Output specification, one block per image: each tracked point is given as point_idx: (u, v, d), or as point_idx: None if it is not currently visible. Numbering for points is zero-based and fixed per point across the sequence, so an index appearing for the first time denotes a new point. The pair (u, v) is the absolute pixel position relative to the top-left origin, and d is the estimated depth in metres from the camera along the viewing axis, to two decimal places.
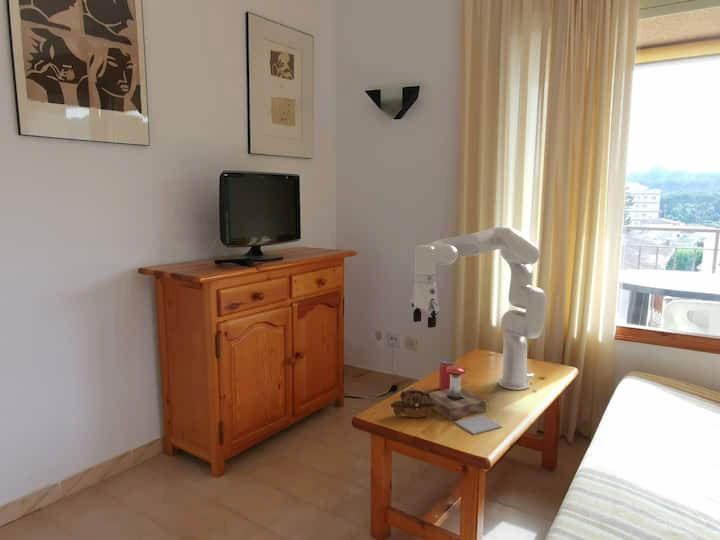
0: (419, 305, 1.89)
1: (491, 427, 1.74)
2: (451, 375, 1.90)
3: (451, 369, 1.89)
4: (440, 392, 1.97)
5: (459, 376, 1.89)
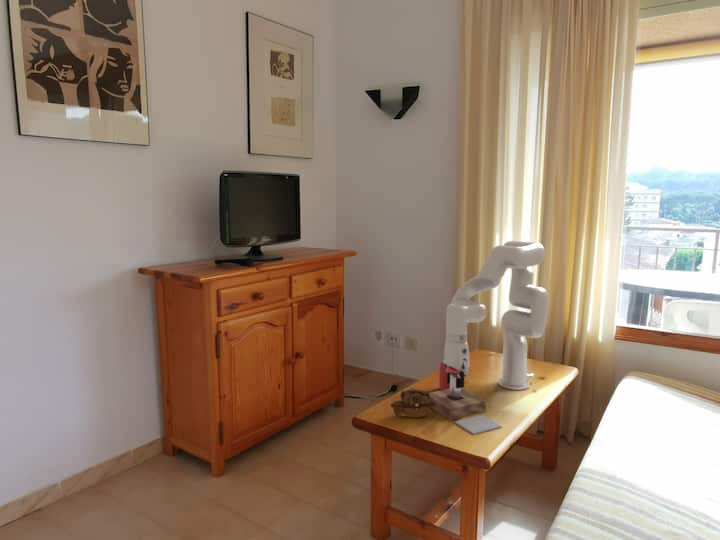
0: (450, 364, 1.89)
1: (491, 427, 1.74)
2: (451, 375, 1.90)
3: (452, 369, 1.89)
4: (440, 392, 1.97)
5: None
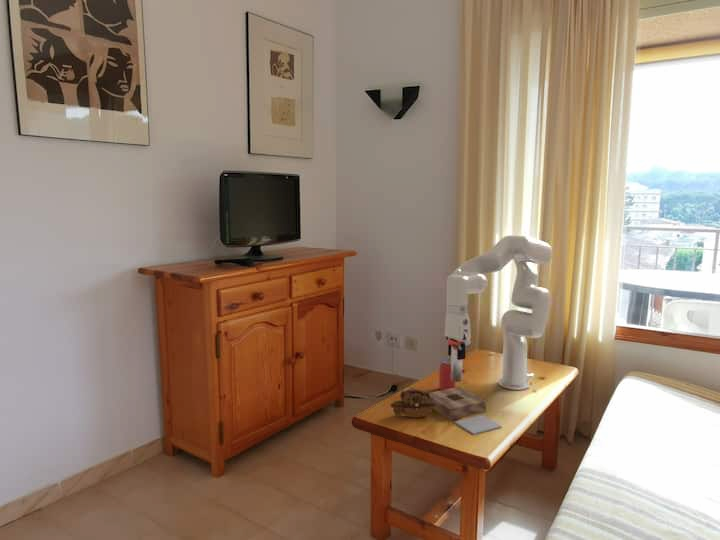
0: (451, 335, 1.88)
1: (491, 427, 1.74)
2: (452, 347, 1.88)
3: (453, 341, 1.88)
4: (440, 392, 1.97)
5: None
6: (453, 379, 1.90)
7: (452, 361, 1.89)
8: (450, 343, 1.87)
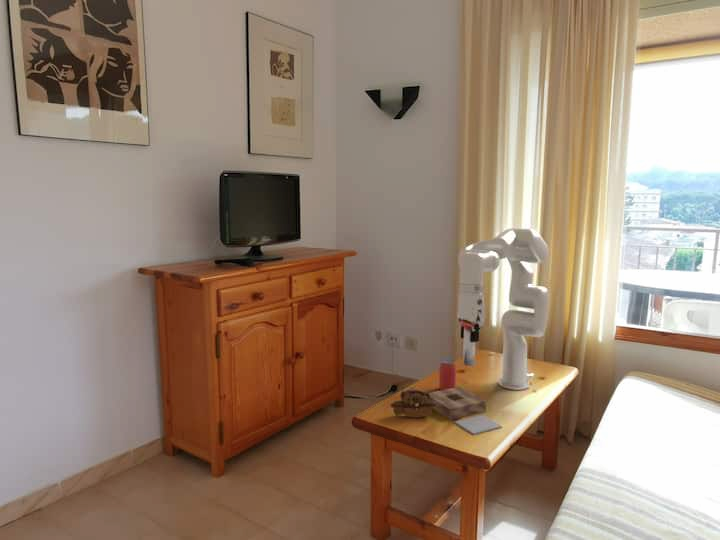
0: (464, 316, 1.78)
1: (491, 427, 1.74)
2: (465, 329, 1.78)
3: (465, 322, 1.78)
4: (440, 392, 1.97)
5: None
6: (465, 363, 1.79)
7: (464, 344, 1.79)
8: (463, 324, 1.77)
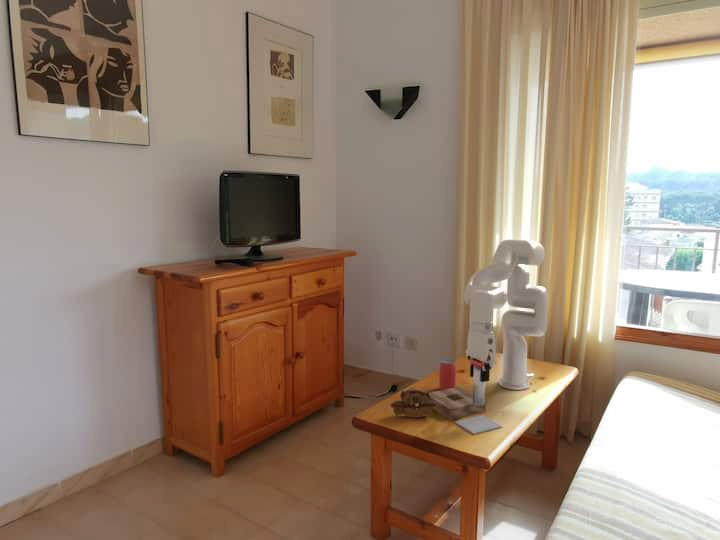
0: (474, 355, 1.73)
1: (491, 427, 1.74)
2: (475, 368, 1.73)
3: (475, 361, 1.73)
4: (440, 392, 1.97)
5: None
6: (475, 403, 1.75)
7: (474, 383, 1.74)
8: (473, 363, 1.72)
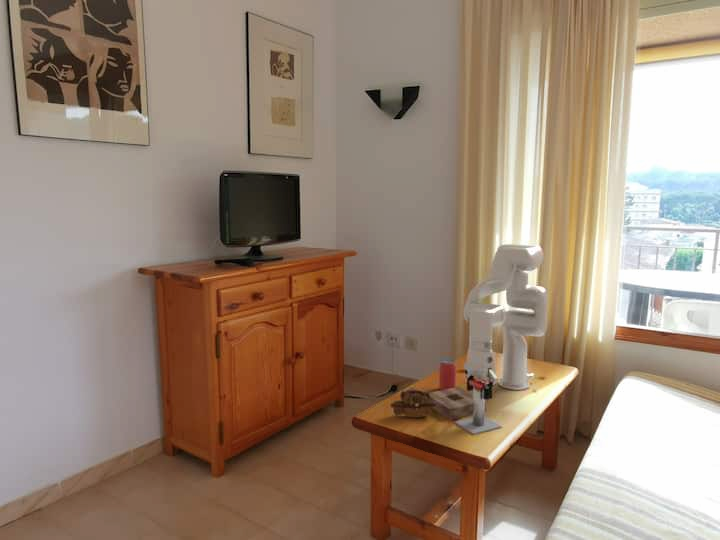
0: (474, 373, 1.74)
1: (491, 427, 1.74)
2: (474, 389, 1.75)
3: (475, 382, 1.74)
4: (440, 392, 1.97)
5: (483, 390, 1.74)
6: (475, 423, 1.76)
7: (474, 404, 1.75)
8: (472, 385, 1.73)
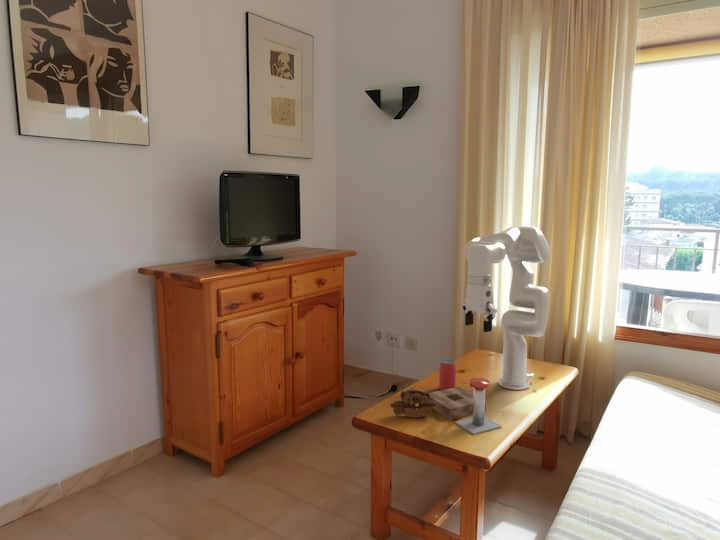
0: (473, 308, 1.79)
1: (491, 427, 1.74)
2: (474, 389, 1.75)
3: (475, 382, 1.74)
4: (440, 392, 1.97)
5: (483, 390, 1.74)
6: (475, 423, 1.76)
7: (474, 404, 1.75)
8: (472, 385, 1.73)
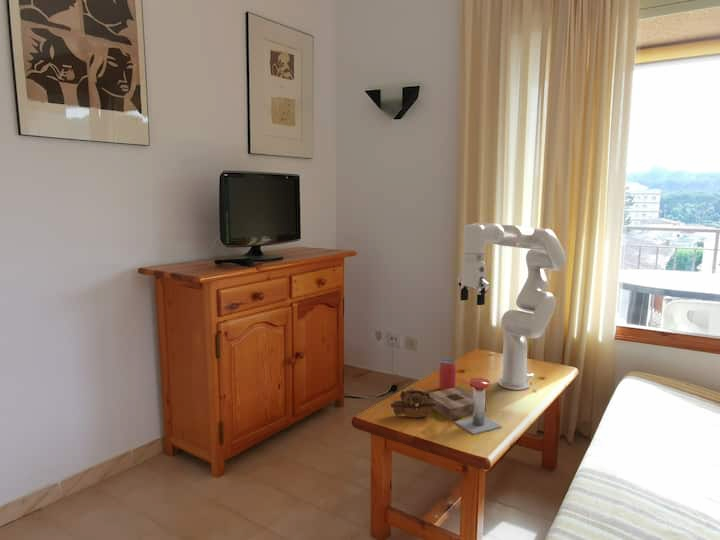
0: (468, 283, 1.93)
1: (491, 427, 1.74)
2: (474, 389, 1.75)
3: (475, 382, 1.74)
4: (440, 392, 1.97)
5: (483, 390, 1.74)
6: (475, 423, 1.76)
7: (474, 404, 1.75)
8: (472, 385, 1.73)
